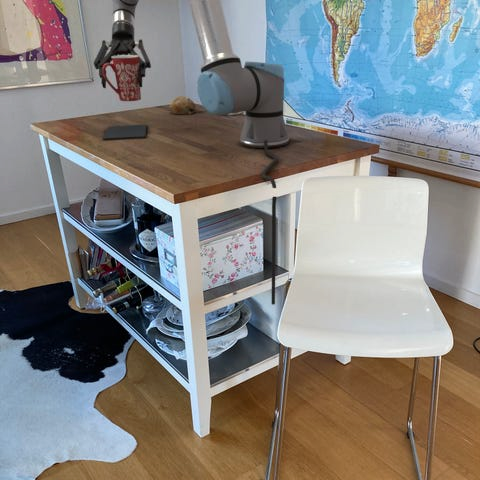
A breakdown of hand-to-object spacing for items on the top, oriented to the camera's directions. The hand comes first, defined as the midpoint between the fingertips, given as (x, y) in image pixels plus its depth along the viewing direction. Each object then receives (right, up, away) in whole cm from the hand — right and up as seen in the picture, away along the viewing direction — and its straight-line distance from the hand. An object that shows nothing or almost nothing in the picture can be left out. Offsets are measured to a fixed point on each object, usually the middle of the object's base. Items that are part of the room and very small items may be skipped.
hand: (121, 85), depth 173 cm
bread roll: (+16, +7, +40) cm, 44 cm away
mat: (-1, -13, +10) cm, 16 cm away
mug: (0, -3, +5) cm, 6 cm away
